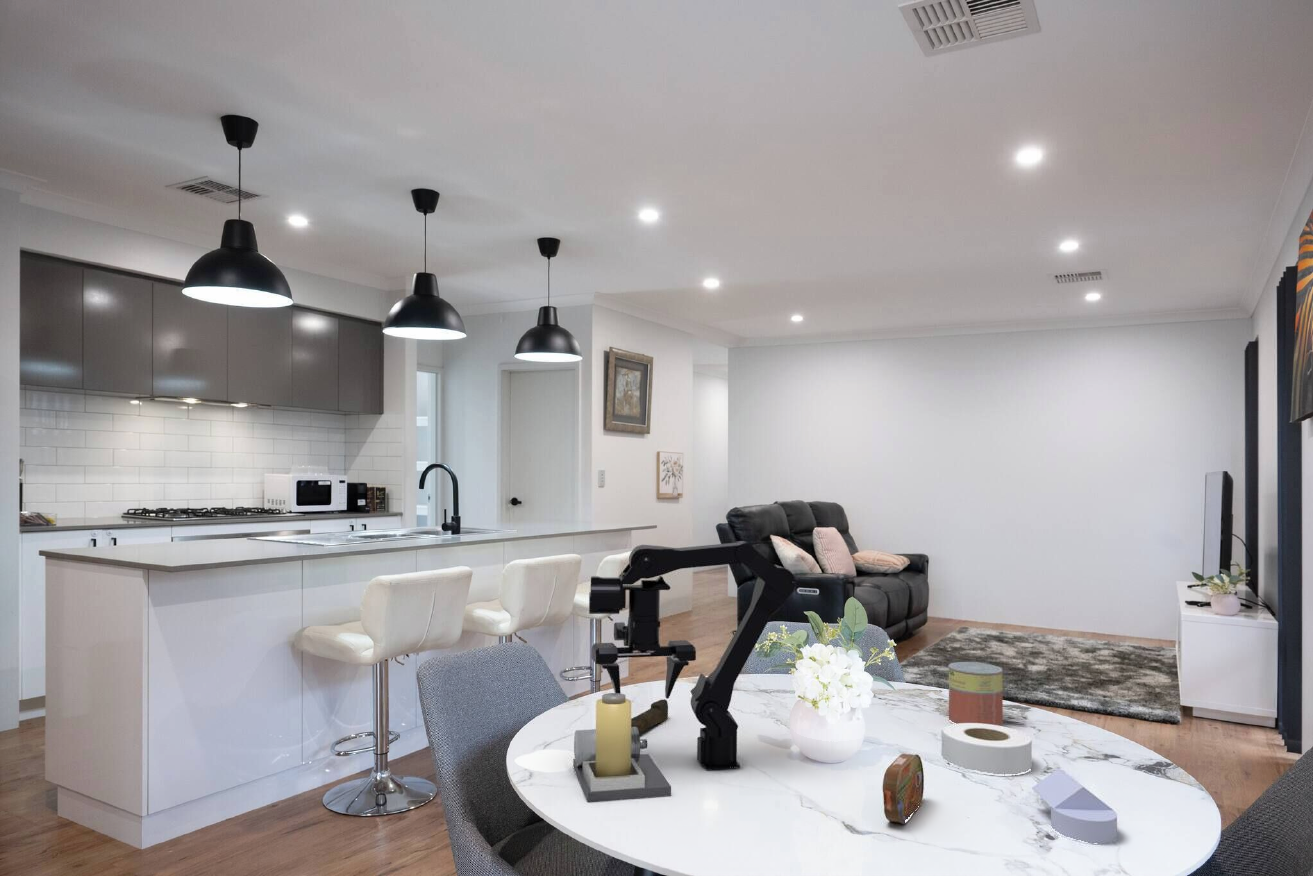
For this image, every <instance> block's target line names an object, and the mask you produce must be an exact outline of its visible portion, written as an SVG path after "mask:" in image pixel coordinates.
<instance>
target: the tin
mask: <svg viewBox="0 0 1313 876" xmlns="http://www.w3.org/2000/svg"><path fill="white" fill-rule="evenodd" d="M882 780H883V781H882V795H883V807H884V808H883V813H884V815H885V816H884V817H885V818H886V820H887V821H889V822H892V823H897V822H898V823H899V824H902V825H906V824H905V820H906V819H908V817H910V815H911V814H912V813H913V812H915V810H916V809H917V808H918V806H920V807H921V805H922V802H923V797H924V789H925V784H924V783H925V775H924V765H923V762H922V758H921V756H920V755H919V754H917V753H916V754H910V753H902V754H899V756H898V757H896V759H894V760H893V762H891V764H890V765H889V766H888V767H887V768H886V770H885V772H884V775H883V779H882ZM920 804H921V805H920ZM915 813H916V812H915ZM898 823H897V824H898Z"/></svg>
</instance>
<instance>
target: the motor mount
mask: <svg viewBox="0 0 1313 876" xmlns="http://www.w3.org/2000/svg"><path fill="white" fill-rule="evenodd" d="M573 736H574V737H573V738H574V739H573V753H574V758H573V761H572V762H573V765H572V766H573V767H574V768H573V767H572V768H573V770H574V772H576V773H575V775H576V774H577V775H576V778H577V779H579V780H578V782H579V781H580V782H579V784H581V785H580V787H581V789H583V790H582V792H583V795H584V796H585V799H586V802H587V803H596V802H607V801H619V800H620V799H622V800H633V799H634V800H635V799H645V797H648V798H659V797H660V798H661V797H670V796H672V786H671V784H670V783H669V782H668V780H667V778H666V777H665V776H664V774H663V773H662V772H661V770H660V768H659V767H658V766H657V764H656V762H655V761H654V760H653V758H652V757H651V756H650V754H649V753H645V754H641V750H643V749H645V750H646V749H648V740H647V738H645V739H644V738H643V739H640V734H639V731H638V729H637V727H631V775H625V776H611V777H596V778H595V771H596V728H595V729H594V728H593V729H576V730H575V731H574V735H573ZM595 801H596V802H595ZM620 801H621V800H620Z"/></svg>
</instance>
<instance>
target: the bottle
mask: <svg viewBox="0 0 1313 876" xmlns="http://www.w3.org/2000/svg"><path fill="white" fill-rule="evenodd" d="M631 719H632V700H630V699H628V698H626V694H624V693H621V694H620V693H615V692H610V693H604V694H602V695H601V698H599V699H597V700H596V703H595V729H596V771H595V778H596V777H611V776H625V775H631Z"/></svg>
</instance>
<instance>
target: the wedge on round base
mask: <svg viewBox="0 0 1313 876" xmlns="http://www.w3.org/2000/svg"><path fill="white" fill-rule="evenodd" d="M1030 788H1031V790H1032V791H1033V792H1034V793H1036V794H1037V795H1038V796H1039V797H1040V798H1041V799H1042V800H1043V801H1044V802H1045V803H1046V804H1048V805H1049V806H1050V827H1051V826H1052V828H1053V829H1055V831H1057V832H1059V833H1060V834H1062V835H1064V836H1066V837H1070V838H1073V839H1076V840H1081V841H1084V842H1088V843H1097V844H1096V845H1108V843H1110V844H1112V843H1111V842H1113V843H1115V842H1116V841H1117V840H1118V813H1117V811H1115V810H1114V809H1112V807H1110V806H1109V805H1108V804H1106V803H1105V802H1104V801H1103V800H1101V799H1100V798H1099V797H1097V796H1096V795H1095V794H1093V792H1091V791H1090V790H1089V789H1087V788H1086V787H1085V786H1083V785H1082V784H1081V783H1079V782H1078V781H1076V780H1075V778H1073V777H1071V776H1070V775H1069V774H1068V773H1066V772H1065V771H1064V770H1062V769H1061V767H1059V768H1057V769H1056V770H1054V771H1053V772H1051V773H1050V774H1048V775H1047V776H1046V777H1044V778H1043V779H1042V780H1040V781H1039V782H1037V783H1036V784H1034V785H1033V786H1032V787H1030ZM1052 828H1051V829H1052ZM1116 839H1117V840H1116ZM1115 840H1116V841H1115ZM1088 843H1087V844H1088Z"/></svg>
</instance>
